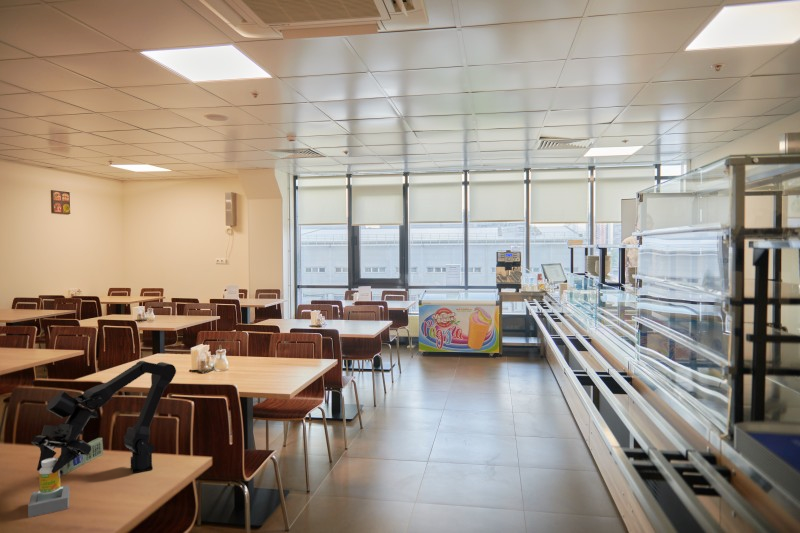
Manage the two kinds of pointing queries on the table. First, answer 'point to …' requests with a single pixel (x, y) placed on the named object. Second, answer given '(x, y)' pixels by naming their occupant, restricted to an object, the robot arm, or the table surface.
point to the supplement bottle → (49, 477)
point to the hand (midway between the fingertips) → (45, 471)
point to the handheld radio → (84, 457)
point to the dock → (48, 502)
